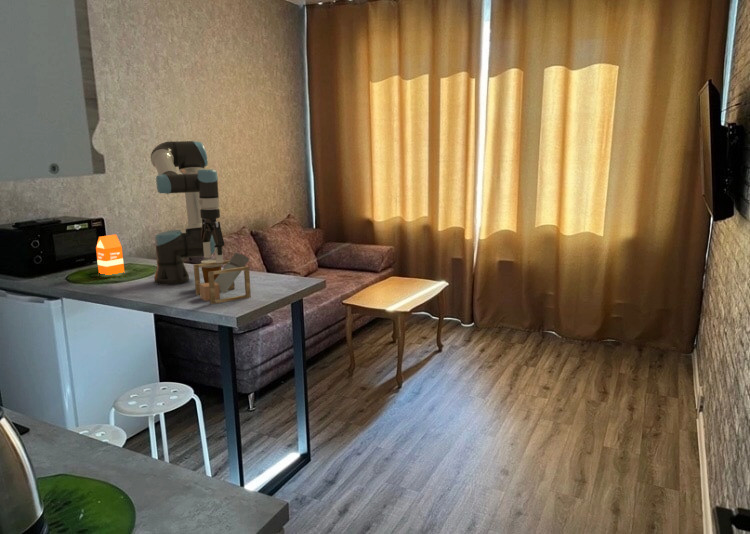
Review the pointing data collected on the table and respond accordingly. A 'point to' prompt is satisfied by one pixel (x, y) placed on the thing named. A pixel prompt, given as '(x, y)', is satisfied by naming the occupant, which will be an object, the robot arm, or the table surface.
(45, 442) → the table surface
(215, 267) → the disposable coffee cup
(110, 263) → the orange juice
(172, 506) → the table surface
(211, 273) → the frame
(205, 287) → the block
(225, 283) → the trapdoor
